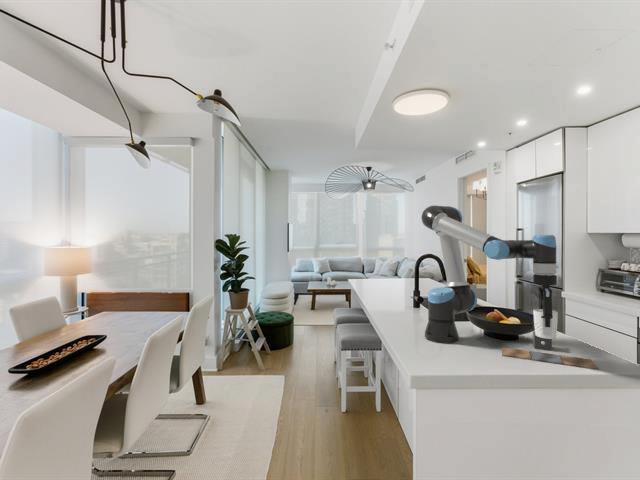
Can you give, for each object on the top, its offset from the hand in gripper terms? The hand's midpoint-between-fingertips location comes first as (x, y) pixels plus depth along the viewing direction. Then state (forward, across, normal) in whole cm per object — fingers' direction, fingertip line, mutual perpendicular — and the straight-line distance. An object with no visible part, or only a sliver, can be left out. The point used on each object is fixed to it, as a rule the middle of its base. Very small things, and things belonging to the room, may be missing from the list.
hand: (545, 332), depth 124 cm
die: (+10, +14, 0) cm, 17 cm away
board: (+10, 0, 0) cm, 10 cm away
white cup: (+2, 0, 0) cm, 2 cm away
